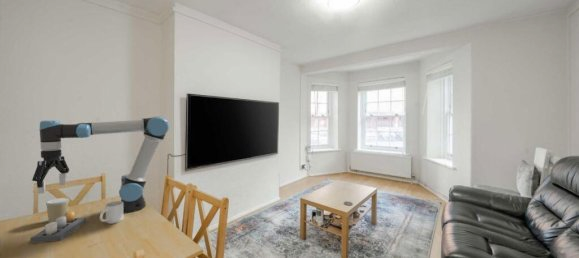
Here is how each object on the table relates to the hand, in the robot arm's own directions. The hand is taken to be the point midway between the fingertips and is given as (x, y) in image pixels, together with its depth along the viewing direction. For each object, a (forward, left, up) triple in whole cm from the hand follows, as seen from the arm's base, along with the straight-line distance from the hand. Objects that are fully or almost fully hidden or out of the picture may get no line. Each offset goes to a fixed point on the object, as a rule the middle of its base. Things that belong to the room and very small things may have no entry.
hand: (52, 188), depth 120 cm
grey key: (-5, +3, -20) cm, 21 cm away
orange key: (-5, -4, -20) cm, 21 cm away
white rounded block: (-5, +9, -20) cm, 23 cm away
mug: (-25, -4, -23) cm, 34 cm away
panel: (-5, +3, -22) cm, 23 cm away
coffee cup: (+5, -11, -23) cm, 26 cm away
